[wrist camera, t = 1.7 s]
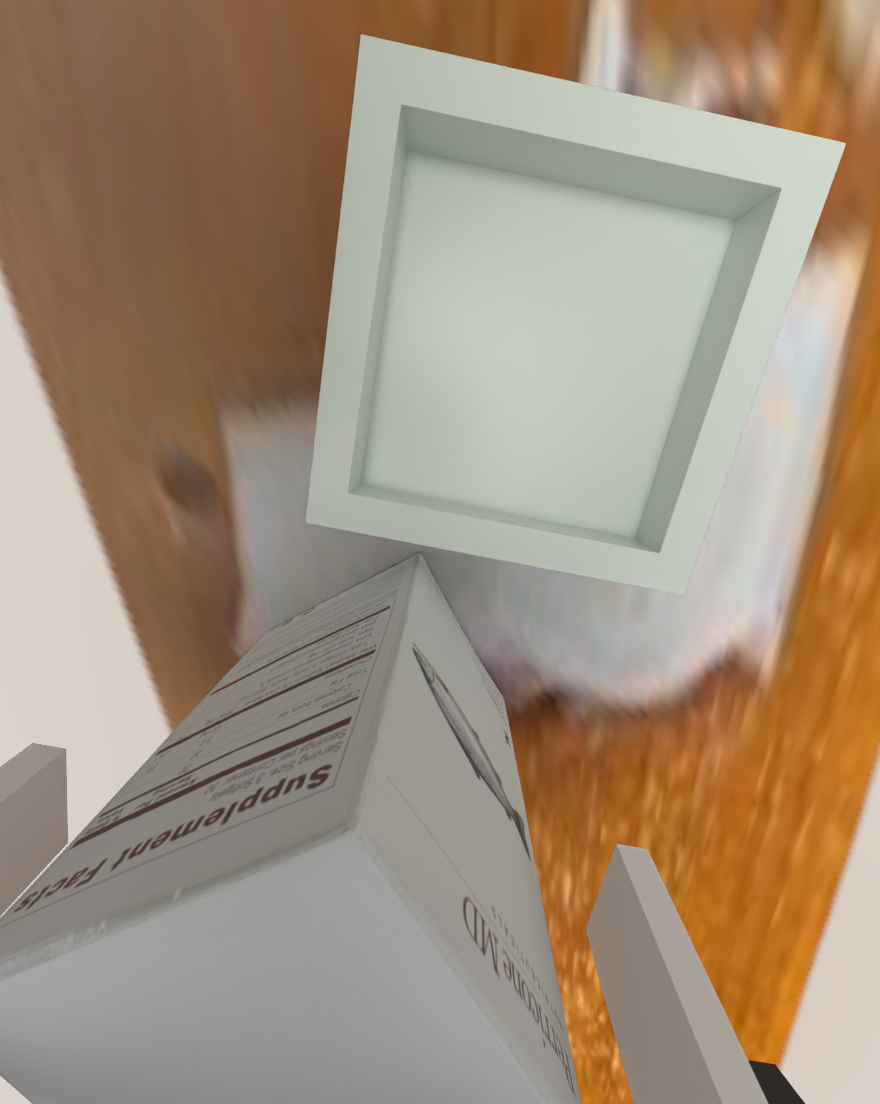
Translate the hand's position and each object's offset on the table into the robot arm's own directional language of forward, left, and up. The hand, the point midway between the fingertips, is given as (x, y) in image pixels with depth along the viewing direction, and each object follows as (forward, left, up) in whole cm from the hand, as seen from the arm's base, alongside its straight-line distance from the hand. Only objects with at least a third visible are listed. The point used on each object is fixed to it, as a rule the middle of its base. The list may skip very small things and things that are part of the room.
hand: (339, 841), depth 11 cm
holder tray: (-12, +3, -8) cm, 15 cm away
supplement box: (0, 0, -8) cm, 8 cm away
